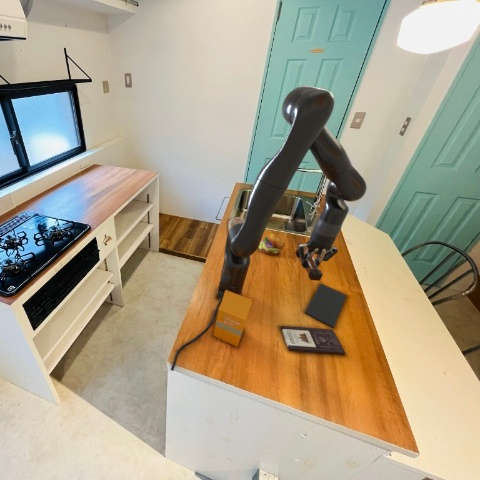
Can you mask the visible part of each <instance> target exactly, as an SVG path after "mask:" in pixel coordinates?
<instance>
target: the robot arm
mask: <svg viewBox="0 0 480 480" xmlns="http://www.w3.org/2000/svg"><path fill="white" fill-rule="evenodd" d="M334 109H335V96H334V95H333V93H332V92H331V91H329V90H326V89H324V88H320V87H315V86H310V85H302V86H298V87H295V88H294V89H292V90H291V91H289V92H288V93H287V95H286V97H285V98H284V100H283V101H282V106H281V114H282V117H283V119H284V121H285V122H286V123H287V124H289V125H290V129H289V132H288V133H287V136H286V138H285V139H284V142H283V144H282V145H281V147H280V148H279V150H278V151H277V152H276V153H275V154H274V155H273V156H272V157H271V158H270V159H269V160H268V161H267V162H266V163H265V164H264V165H263V166H262V167H261V168H260V170H259V171H258V173H257V176H256V178H255V180H254V182H253V184H252V187H251V189H250V192H249V197H248V200H247V201H248V202H247V208H246V213H245V217H244V223H238V224H235V225H234V226H232V227H231V229H230V230H229V231H227V235H226V241H225V246H224V256H223V257H224V258H223V264H222V269H221V273H220V278H219V282H218V289H217V293H216V298H217V299H219V301H218V302H217V305H216V307H215V310H214V312H213V315H212V318H211V320H210V322H209V324H208V325H207V327H206V328H205V329H204V330H203V331H201V332H200V333H199V334H198V335H196V336H195V337H194V338H193V339H190V340H189V341H187V342H185V343H184V344H183V345H181V346H180V347H179V348H178V350H177V351H176V353H175V355H174V358H173V361H172V365H171V368H170V371H172V372H173V371H174V370H175V367H176V364H177V359H178V357H179V354H180V353H181V352H182V350H183V349H185V348H186V347H187V346H189V345H191V344H193V343H195V342H196V341H198V340H199V338H201V337H203V336H204V334H206V332H208V331H209V330H210V328H211V326H212V325H213V323H214V321H215V318H216V317H217V316H216V315H217V314H218V311H219V308H220V306H221V303H222V299H223V296H224V293H225V290H227V291H230V292H233V293H235V294H238V295H241V296H242V292H243V288H244V285H245V282H246V279H247V274H248V272H249V268H250V264H251V256H252V255H253V254H254V253H255V252H256V251H257V250H258V249H259V246H260V243H261V242H262V238H263V236H264V234H265V231H266V229H267V226H268V224H269V223H270V221H271V220H272V219H271V218H272V217H273V215H274V214H275V211H276V209H277V208H278V206H279V204H280V202H281V200H283V197H284V195H285V194H286V192H287V190H288V189H289V187H290V184H291V182H292V180H293V178H294V177H295V175H296V173H297V172H298V169H299V167H300V166H301V164H302V162H303V160H304V158H305V157H306V155H307V154H308V152H309V151H310V152H311V154H312V156H313V158H314V159H315V161H316V163H317V165H318V166H319V168H320V170H321V172H322V173H323V175H324V177H325V178H326V179H327V180H329V181H328V183H327V186H326V190H325V198H324V206H323V208H322V210H321V212H320V215H319V217H318V219H317V221H316V222H315V225H314V227H313V229H312V231H311V234H310V236H309V239H308V241H306V243H303V244H302V243H298V244H297V247H298V249H299V255H300V257H301V259H303V260H302V262H301V261H300V265H301V267H302V269H305V268H306V266H307V264H308V262H309V259H310V258H311V257H314V256H315V255H316V258H315V257H314V259H315V262H316V264H317V266H318V268H319V267H320V265H321V263H322V262H328V261H330V259H332V258H333V257H334V256H335V255H336V254H338V252H339V250H338V247H336V246H335V245H334V243H335V241H336V239H337V237H338V235H339V234H340V231H341V230H342V227H343V225H344V222H345V220H346V218H347V216H348V214H349V211H350V208H349V206H348V205H347V203H346V202H351V203H352V202H357V201H359V200H361V199H362V198H363V197H364V196H365V194H366V192H367V188H368V187H367V183H366V180H365V179H364V177H363V176H362V175H361V173H359V171H358V170H357V169H356V168H355V167H354V166H353V164H352V161H351V160H350V157H349V155H348V153H347V152H346V149H345V148H344V146H343V145H342V143H341V142H340V141H339V140H338V139H337V138H336V137H335V136H334V134H333V133H332V132H331V131H330V129H329V128H328V127H327V125H326V124H328V122H329V120H330V118H331V116H332V114H333V111H334ZM306 248H307V249H306Z"/></svg>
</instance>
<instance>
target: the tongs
mask: <svg viewBox="0 0 480 480" xmlns="http://www.w3.org/2000/svg"><path fill="white" fill-rule="evenodd" d="M294 253H295V256H296V258H298V259H299V261H300V263H301V262H302V260H303V259H301V257H300V255H299V249H296V250H295V252H294ZM304 269H305V271H306V273H307V274H308V275H307V276H308V279H309V280H310V281H315V282H316V281H317V282H320V281H321V280H322V278H323V275H324V274H323V272H322V270H321V269H319V267H318V266H317V264H316V262H315V257H314V256H313V257H311V258H310V259H309V262H308V264H307V266H306V268H304Z"/></svg>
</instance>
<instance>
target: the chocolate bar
mask: <svg viewBox="0 0 480 480" xmlns="http://www.w3.org/2000/svg"><path fill="white" fill-rule="evenodd" d="M280 329H281V332H282V335H283V338H284V341H285V344H286V346H287V349H288V351H291V352H292V351H293V352H306V353H319V354H331V355H345V354H346V351H345V350H344V347H343V345H342V344H341V341H340V340H339V338H338V336H337V335H336V333H335V331H334V328H332V329H331V328H320V327H319V328H318V327H306V326H305V327H303V326H291V325H281V326H280Z"/></svg>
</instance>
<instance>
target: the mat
mask: <svg viewBox="0 0 480 480" xmlns="http://www.w3.org/2000/svg"><path fill="white" fill-rule="evenodd" d="M346 299H347V294H345V293H343V292H341V291H338V290H337V289H335V288H332V287H329V286H327V285H326V284H323V283H320V284H319V286H318V287H317V289H316V291H315V294H314V295H313V297H312V299H311V300H310V302H309V304H308V306H307V307H306V310H305V312H304V314H306V315H307V316H309V317H312V318H313V319H315V320H317V321H318V322H321V323H322V324H325V325H327V326H328V327H330V328H332V329H334V328H335V326H336V323H337V320H338V318H339V315H340V313H341V311H342V309H343V305H344V303H345V300H346Z"/></svg>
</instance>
